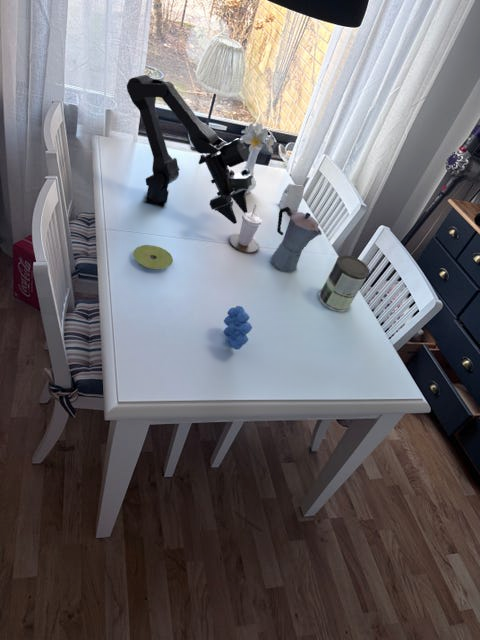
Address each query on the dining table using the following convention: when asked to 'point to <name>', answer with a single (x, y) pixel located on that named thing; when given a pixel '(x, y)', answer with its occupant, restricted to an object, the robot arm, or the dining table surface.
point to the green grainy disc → (153, 257)
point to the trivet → (245, 249)
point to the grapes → (237, 327)
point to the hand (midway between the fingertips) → (240, 218)
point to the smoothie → (249, 227)
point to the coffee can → (343, 283)
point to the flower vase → (255, 147)
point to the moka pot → (294, 239)
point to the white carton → (292, 197)
